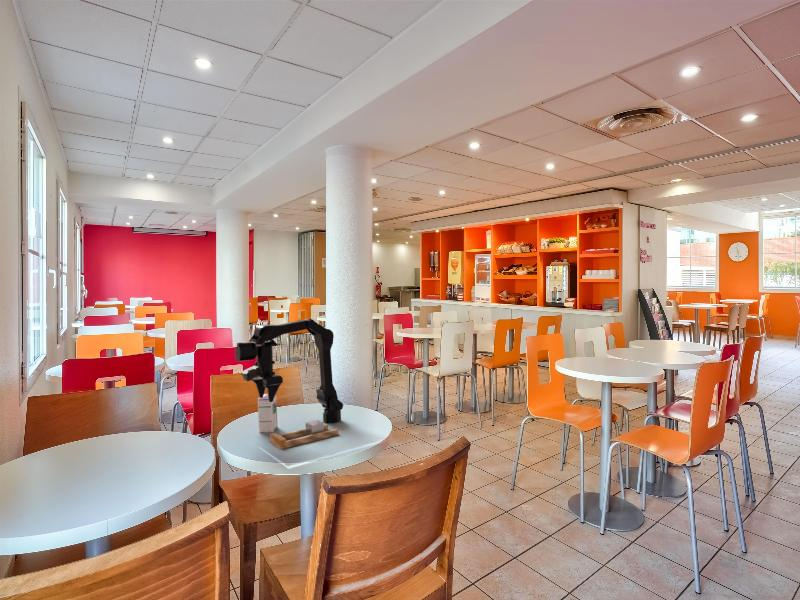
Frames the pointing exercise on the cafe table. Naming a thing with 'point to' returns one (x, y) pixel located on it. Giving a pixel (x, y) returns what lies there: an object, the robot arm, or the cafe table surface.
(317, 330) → the robot arm
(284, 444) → the brown shallow tray
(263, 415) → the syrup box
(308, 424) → the grey pink cube
